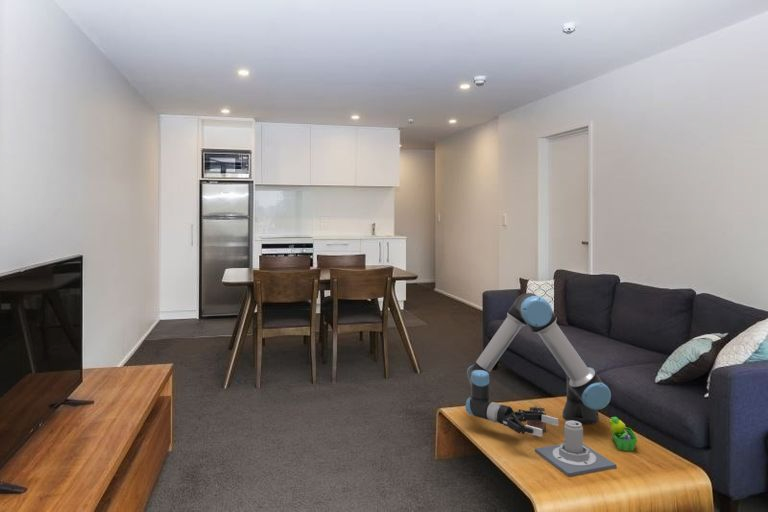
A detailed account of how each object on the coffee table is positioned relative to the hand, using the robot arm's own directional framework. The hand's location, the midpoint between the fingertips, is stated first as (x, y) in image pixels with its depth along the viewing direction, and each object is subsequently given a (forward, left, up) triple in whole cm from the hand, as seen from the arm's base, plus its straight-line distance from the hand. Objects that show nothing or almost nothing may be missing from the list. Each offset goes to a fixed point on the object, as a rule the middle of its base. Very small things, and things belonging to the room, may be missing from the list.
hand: (550, 427), depth 184 cm
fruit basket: (-30, +4, -10) cm, 31 cm away
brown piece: (-7, -19, -10) cm, 22 cm away
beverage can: (-5, +8, -8) cm, 12 cm away
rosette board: (-5, +8, -9) cm, 13 cm away
